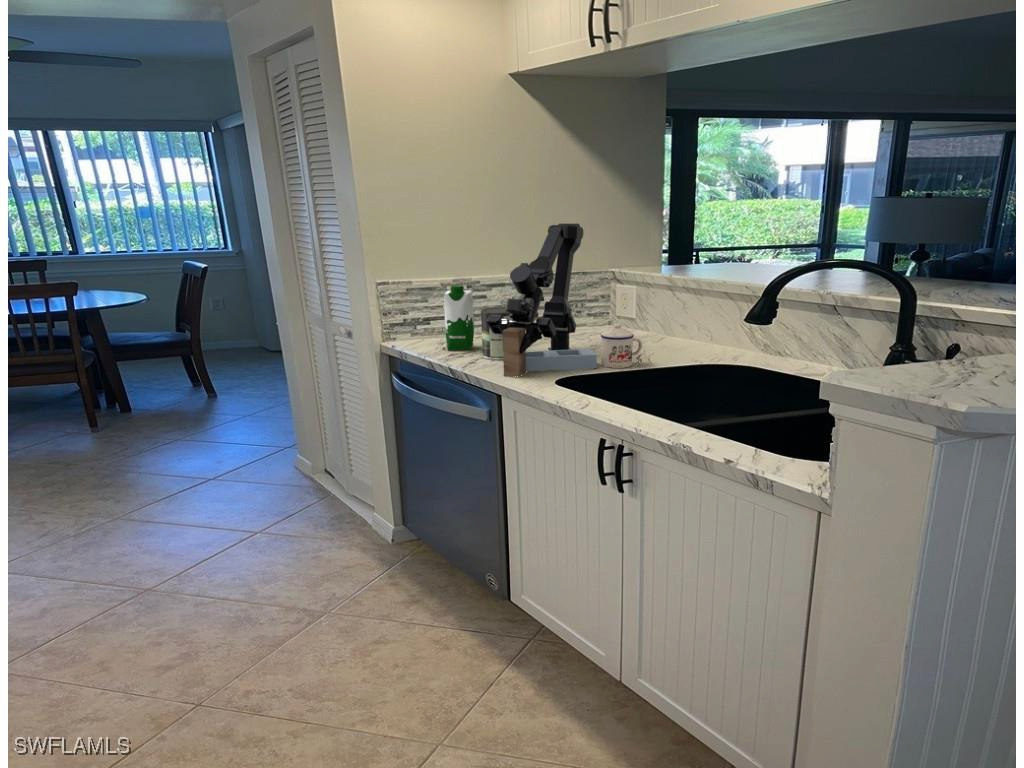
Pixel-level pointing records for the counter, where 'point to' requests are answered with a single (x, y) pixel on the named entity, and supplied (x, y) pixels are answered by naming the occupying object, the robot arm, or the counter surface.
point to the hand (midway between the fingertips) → (512, 352)
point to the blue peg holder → (561, 360)
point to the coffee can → (492, 334)
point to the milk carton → (459, 318)
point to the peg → (513, 352)
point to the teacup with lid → (618, 347)
